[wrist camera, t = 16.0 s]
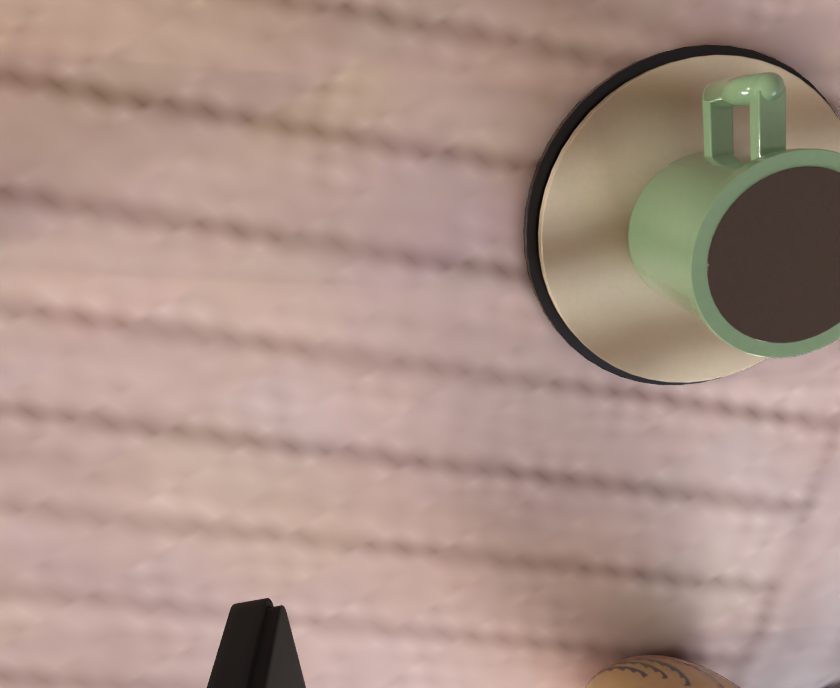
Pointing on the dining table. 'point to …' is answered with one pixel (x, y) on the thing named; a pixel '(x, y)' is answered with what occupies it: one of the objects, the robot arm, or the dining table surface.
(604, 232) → the coffee cup on saucer
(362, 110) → the dining table surface
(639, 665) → the ceramic vessel
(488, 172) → the dining table surface
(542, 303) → the base
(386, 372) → the dining table surface
